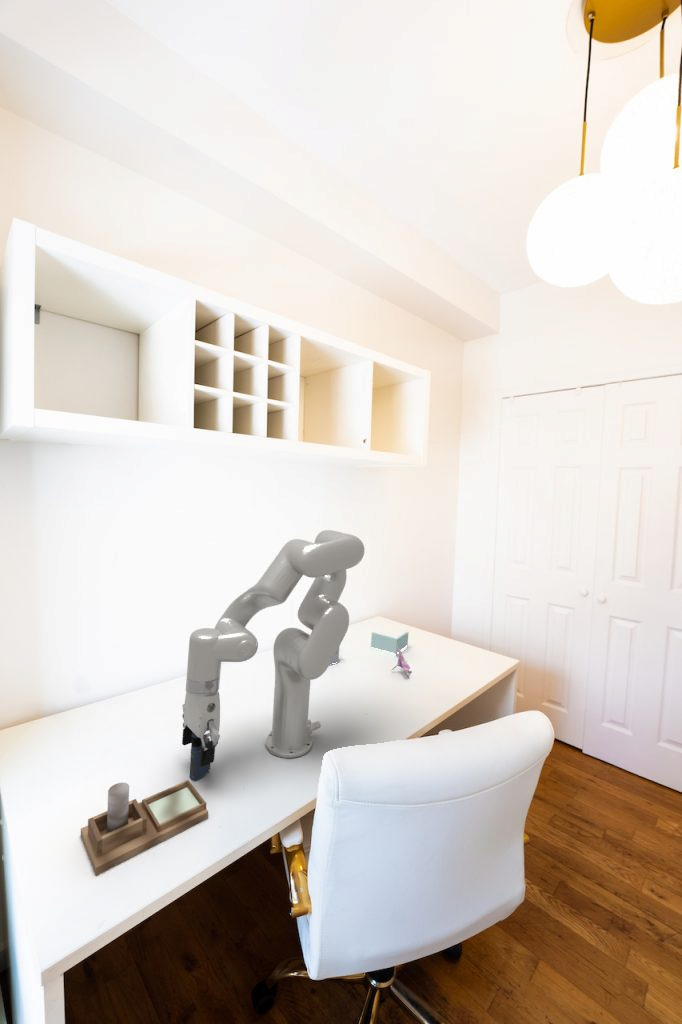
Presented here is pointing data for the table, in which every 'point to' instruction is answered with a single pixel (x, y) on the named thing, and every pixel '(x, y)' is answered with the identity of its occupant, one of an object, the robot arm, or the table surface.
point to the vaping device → (197, 759)
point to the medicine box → (335, 657)
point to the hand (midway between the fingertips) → (197, 753)
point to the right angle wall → (389, 642)
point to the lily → (402, 661)
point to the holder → (139, 823)
